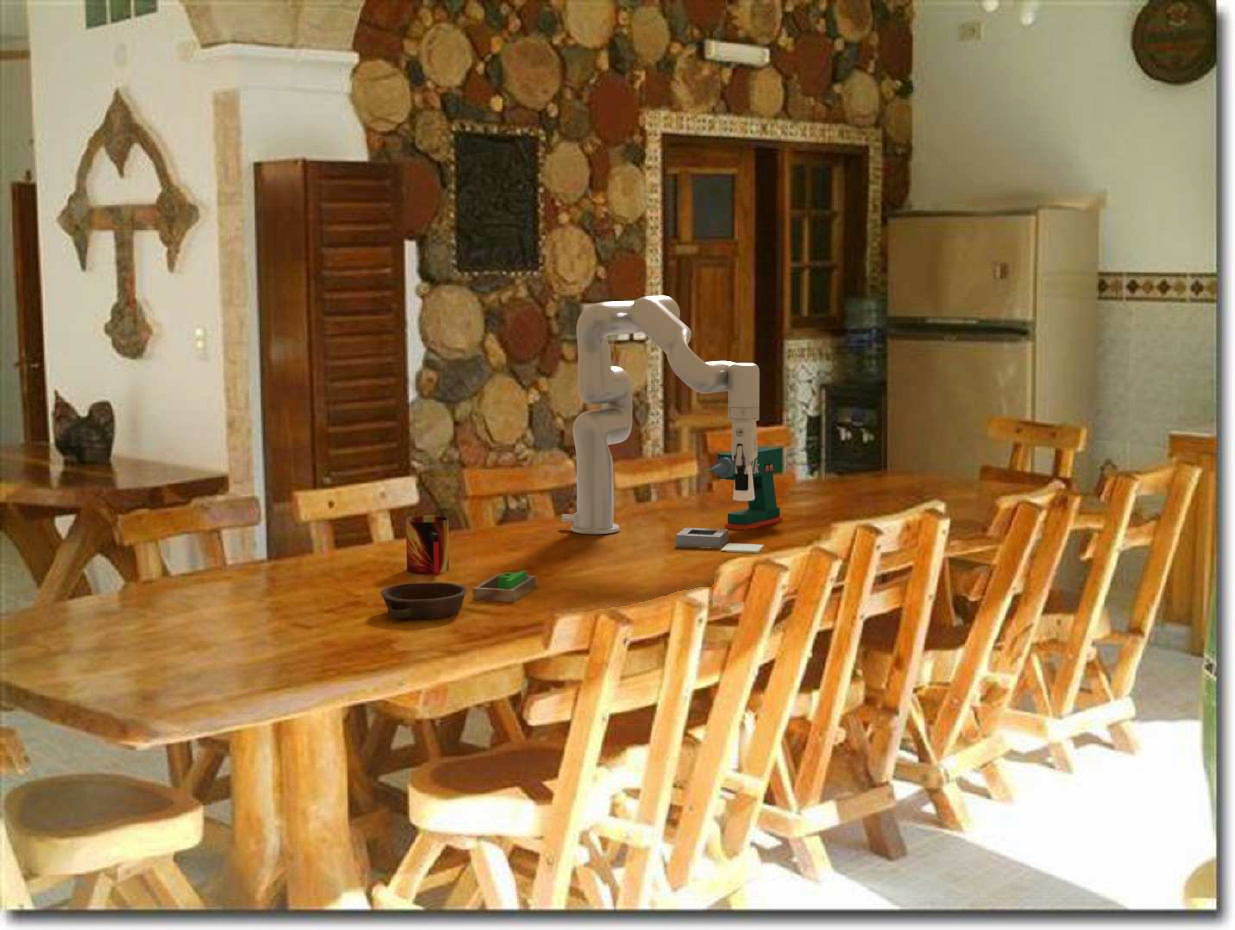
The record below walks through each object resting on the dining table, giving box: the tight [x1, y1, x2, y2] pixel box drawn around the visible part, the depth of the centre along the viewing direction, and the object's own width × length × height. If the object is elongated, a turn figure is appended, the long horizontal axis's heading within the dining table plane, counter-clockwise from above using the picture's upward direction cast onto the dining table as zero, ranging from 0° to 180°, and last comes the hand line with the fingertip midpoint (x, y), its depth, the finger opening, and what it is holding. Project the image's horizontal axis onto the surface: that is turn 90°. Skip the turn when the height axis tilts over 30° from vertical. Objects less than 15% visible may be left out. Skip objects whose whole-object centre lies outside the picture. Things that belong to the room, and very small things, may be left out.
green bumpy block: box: [497, 570, 528, 589], centre depth 357 cm, size 11×4×5 cm, turn 165°
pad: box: [720, 542, 765, 554], centre depth 411 cm, size 9×9×1 cm
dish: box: [379, 581, 469, 620], centre depth 340 cm, size 18×22×5 cm
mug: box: [405, 515, 450, 576], centre depth 383 cm, size 10×14×12 cm
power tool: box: [707, 445, 783, 531], centre depth 441 cm, size 32×7×20 cm, turn 143°
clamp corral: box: [472, 573, 537, 603], centre depth 359 cm, size 9×16×2 cm, turn 166°
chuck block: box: [675, 527, 729, 549], centre depth 418 cm, size 11×11×3 cm
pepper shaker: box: [732, 459, 755, 502], centre depth 408 cm, size 5×5×11 cm
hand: (743, 488), depth 409 cm, fingers closed on pepper shaker, 3 cm apart
